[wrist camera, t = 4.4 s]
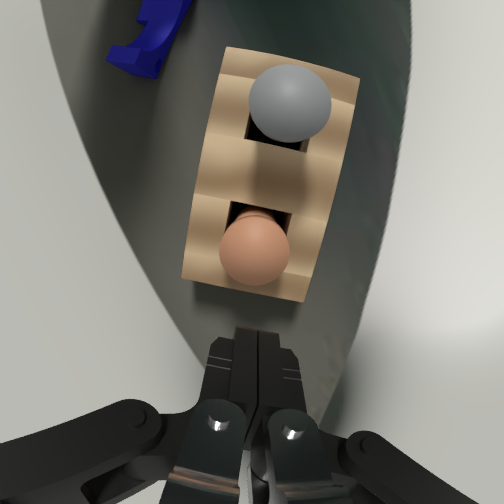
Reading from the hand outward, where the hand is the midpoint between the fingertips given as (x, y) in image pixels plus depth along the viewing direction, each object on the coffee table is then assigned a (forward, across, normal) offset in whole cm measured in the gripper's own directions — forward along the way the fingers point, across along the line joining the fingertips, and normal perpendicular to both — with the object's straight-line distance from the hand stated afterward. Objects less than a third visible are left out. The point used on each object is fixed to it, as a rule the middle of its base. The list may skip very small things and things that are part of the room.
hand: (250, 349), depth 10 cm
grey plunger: (+16, 0, -10) cm, 19 cm away
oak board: (+20, 0, -5) cm, 20 cm away
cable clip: (+20, +14, -19) cm, 31 cm away
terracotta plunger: (+18, 0, 0) cm, 18 cm away
